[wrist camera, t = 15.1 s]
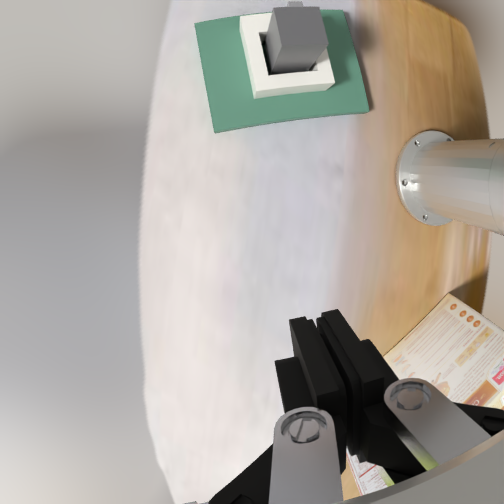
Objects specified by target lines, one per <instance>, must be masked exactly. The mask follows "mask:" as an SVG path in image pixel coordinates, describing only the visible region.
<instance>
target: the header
mask: <svg viewBox="0 0 504 504" xmlns="http://www.w3.org/2000/svg"><path fill="white" fill-rule="evenodd" d="M271 15H272V13H264V14H254V15H246V16H240V34H241V39H242V43H243V48H244V52H245V57H246V62H247V67H248V71H249V76H250V81H251V86H252V91H253V96H254V99H257V98H263V97H270V96H278V95H286V94H294V93H304V92H314V91H326V90H327V89H328V88H330V87H331V86H332V85H333V84H334V83H335V80H334V76H333V72H332V68H331V64H330V60H329V56H328V52H327V48H326V49H325V50H324V51H323V52H322V54H321V55H320V56H319V57H318V59H317V60H316V61H315V63H314V64H313V65H312V66H311V68H310V69H309V71H307V72H296V73H286V74H277V75H269V76H268V72H267V67H266V62H265V58H264V54H263V49H262V45H261V44H264V43H265V39H266V35H267V31H268V27H269V23H270V19H271Z"/></svg>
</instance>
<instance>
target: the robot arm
mask: <svg viewBox="0 0 504 504" xmlns="http://www.w3.org/2000/svg"><path fill="white" fill-rule="evenodd" d="M402 181H403V183H402ZM396 186H397V190H398V194H399V197H400V199H401V202H402V204H403V205H404V207H405V209H406V210H407V211H408V212H409V214H410V215H411V216H412V217H414V218H415V219H416V220H418V221H420V222H422V223H424V224H428V225H431V226H440V225H444V224H447V223H449V222H451V221H452V220H456V221H459V222H463V223H466V224H469V225H472V226H476V227H479V228H482V229H485V230H488V231H491V232H494V233H497V234H500V235H503V236H504V139H478V140H459V141H455V140H454V139H453V138H452V137H450V136H448V135H447V134H445V133H442V132H439V131H424V132H421V133H418V134H416V135H415V136H413V137H411V138H410V139H409V140H408V141H407V142H406V144H405V145H404V147H403V148H402V150H401V153H400V155H399V157H398V161H397V166H396ZM316 322H317V327H316V325H315V323H314V321H313V320H312V319H310V320H307V319H306V317H305V316H304V317H300V318H295V319H290V320H289V324H290V331H291V337H292V344H293V351H294V357H291V358H286V359H281V360H276V361H275V366H276V372H277V377H278V382H279V387H280V393H281V398H282V403H283V408H284V412H285V414H284V415H283V416H281V417H280V418H279V420H278V421H277V422H276V425H275V428H274V440H273V444H272V445H271V446H270V447H269V448H268V449H267V450H266V451H265V452H264V453H263V454H262V455H260V456H259V457H258V458H257V459H256V460H255V461H254V462H253V463H252V464H251V465H250V466H248V467H247V468H246V469H245V470H244V471H243V472H242V473H240V474H239V475H238V476H237V477H236V478H235V479H234V480H232V481H231V482H230V483H229V484H228V485H226V486H225V487H224V488H223V489H222V490H220V491H219V492H218V493H217V494H215V495H214V497H213V498H212V499H211V500H210V501H209V502H206V503H201V504H504V410H502V409H498V408H491V407H483V406H476V405H469V404H462V403H456V402H452V401H451V400H449V399H448V398H447V397H446V396H445V395H444V394H443V393H441V392H440V391H439V390H438V389H437V388H436V387H435V386H433V385H432V384H431V383H429V382H428V381H426V380H423V379H420V378H405V379H401V380H399V378H398V377H397V376H396V374H395V373H394V372H393V370H392V369H391V367H390V366H389V365H388V363H387V362H386V361H385V359H384V358H383V357H382V355H381V354H380V353H379V351H378V350H377V348H376V347H375V346H374V344H373V343H372V342H371V341H370V340H369V339H366V340H362V341H360V340H359V338H358V337H357V336H356V334H355V333H354V331H353V330H352V328H351V327H350V326H349V324H348V323H347V321H346V320H345V318H344V317H343V316H342V314H341V313H340V311H339V310H338V309H335V310H331V311H327V312H322V314H321V317H319V318H317V319H316ZM347 449H348V451H349V454H350V456H354V455H356V456H357V458H358V461H359V463H363V462H366V461H367V462H368V463H371V464H374V465H376V469H377V471H378V473H379V475H380V476H381V478H382V479H383V481H384V482H385V484H386V485H387V487H386V488H384V489H381V490H378V491H375V492H372V493H369V494H366V495H362V496H359V497H356V498H352V499H349V500H345V501H343V493H342V483H341V474H342V473H343V471H344V470H345V469H346V451H347ZM185 504H198V503H197V502H196V501H195V502H190V503H185Z"/></svg>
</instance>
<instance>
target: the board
mask: <svg viewBox="0 0 504 504" xmlns="http://www.w3.org/2000/svg"><path fill="white" fill-rule="evenodd" d="M320 12H321V16H322V20H323V23H324V27H325V31H326V35H327V39H328V43H329V45H328V46H327V47H326V48H327V52H328V56H329V60H330V64H331V68H332V72H333V76H334V80H335V83H334V84H333V85H332V86H331V87H330V88H328V89H327V90H326V91H314V92H304V93H294V94H286V95H278V96H270V97H263V98H257V99H254V96H253V91H252V86H251V81H250V76H249V71H248V67H247V62H246V57H245V52H244V48H243V43H242V39H241V34H240V16H246V15H240V16H233V17H227V18H221V19H215V20H209V21H204V22H199V23H194V24H195V29H196V35H197V41H198V46H199V52H200V58H201V63H202V69H203V74H204V80H205V85H206V90H207V96H208V101H209V107H210V112H211V117H212V123H213V128H214V132H215V133H220V132H225V131H230V130H236V129H241V128H247V127H253V126H259V125H265V124H271V123H278V122H285V121H293V120H300V119H309V118H318V117H327V116H338V115H350V114H364V113H367V112H370V111H369V106H368V102H367V97H366V92H365V88H364V84H363V80H362V75H361V71H360V67H359V64H358V60H357V56H356V52H355V49H354V45H353V42H352V38H351V35H350V31H349V28H348V25H347V22H346V19H345V15H344V12H343V10H320ZM266 13H272V12H266ZM256 14H264V13H256ZM248 15H254V14H248ZM261 45H262V49H263V47H264V44H261ZM263 54H264V49H263ZM264 58H265V54H264ZM265 62H266V59H265ZM266 67H267V65H266ZM308 71H309V70H308ZM267 72H268V70H267Z"/></svg>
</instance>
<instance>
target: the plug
mask: <svg viewBox="0 0 504 504" xmlns="http://www.w3.org/2000/svg"><path fill="white" fill-rule="evenodd" d="M328 45H329V43H328V39H327V35H326V31H325V27H324V23H323V20H322V16H321V12H320V8H319V7H303V3H302V2H288V4H287V7H277V8H273V11H272V15H271V19H270V23H269V27H268V31H267V35H266V39H265V43H264V47H263V49H264V54H265V59H266V65H267V70H268V76H269V75H277V74H286V73H296V72H307V71H308V70H309V69H310V68H311V66H312V65H313V64H314V63H315V61H316V60H317V59H318V57H319V56H320V55H321V54H322V52H323V51H324V50H325V49H326V47H327V46H328Z"/></svg>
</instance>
